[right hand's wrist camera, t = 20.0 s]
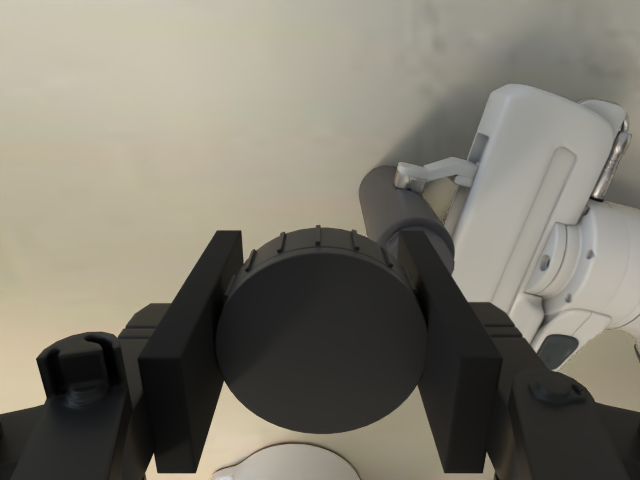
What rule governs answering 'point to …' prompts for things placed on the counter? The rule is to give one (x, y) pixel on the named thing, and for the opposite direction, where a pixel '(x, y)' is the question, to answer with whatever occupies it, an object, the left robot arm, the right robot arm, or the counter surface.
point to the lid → (321, 332)
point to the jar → (400, 215)
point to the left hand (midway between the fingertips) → (384, 215)
